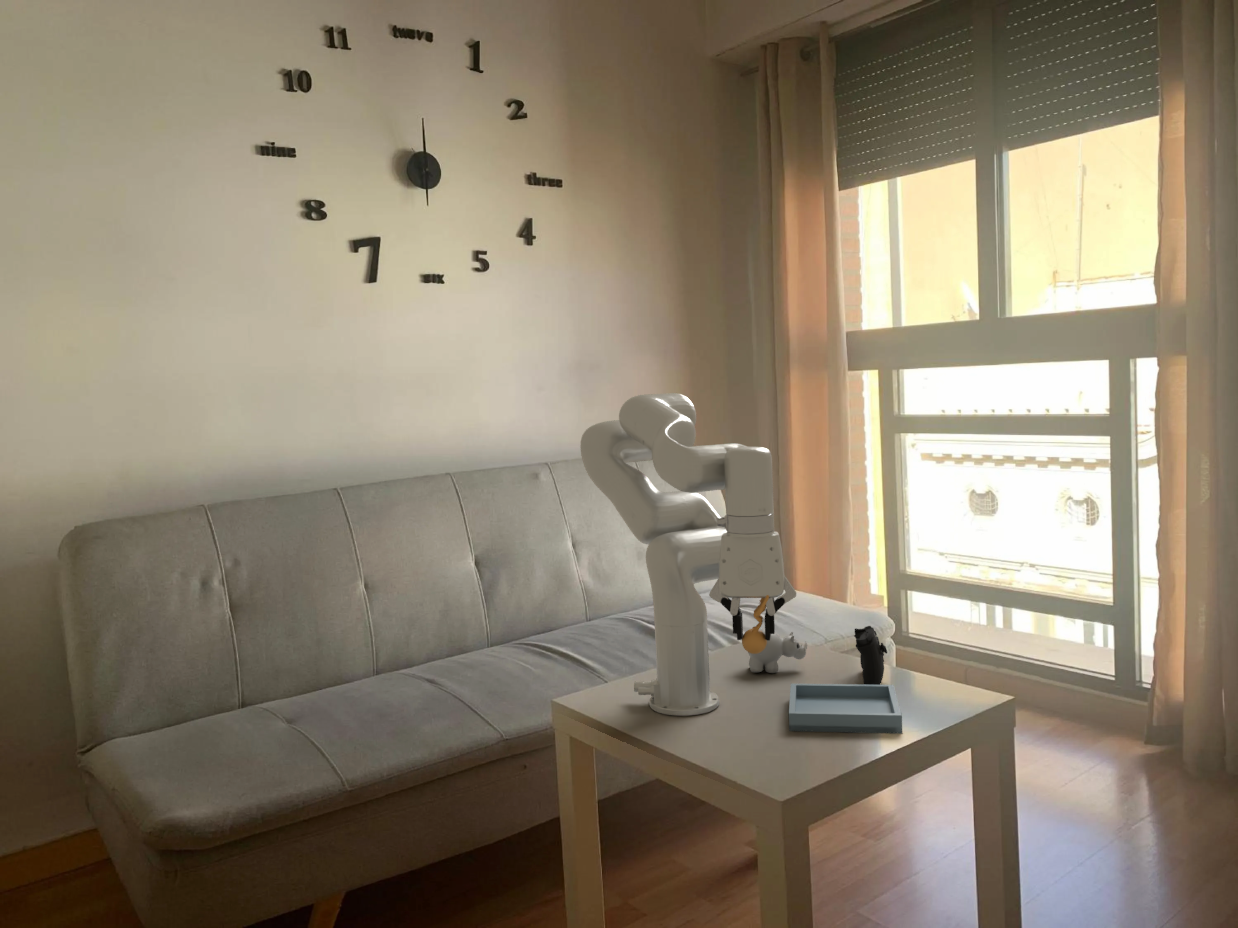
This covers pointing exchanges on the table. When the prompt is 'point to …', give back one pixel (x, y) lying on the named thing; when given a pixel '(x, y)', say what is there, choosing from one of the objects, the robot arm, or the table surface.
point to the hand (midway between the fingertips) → (754, 636)
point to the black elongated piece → (870, 655)
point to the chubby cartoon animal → (776, 652)
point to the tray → (844, 708)
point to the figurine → (756, 631)
